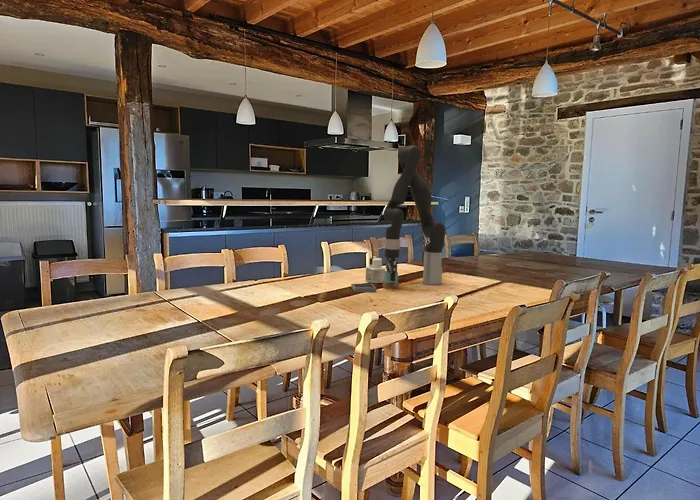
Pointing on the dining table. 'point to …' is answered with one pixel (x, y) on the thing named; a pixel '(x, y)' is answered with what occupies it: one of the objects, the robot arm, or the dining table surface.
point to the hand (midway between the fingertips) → (390, 279)
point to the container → (375, 271)
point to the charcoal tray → (363, 287)
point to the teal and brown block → (390, 284)
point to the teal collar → (388, 276)
